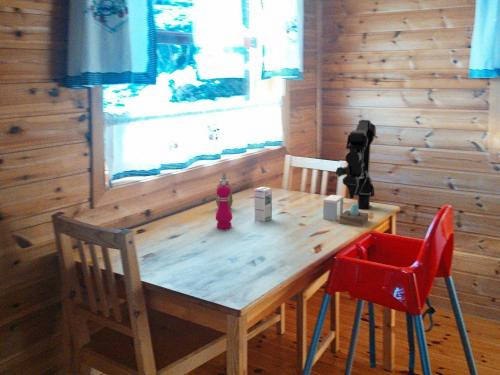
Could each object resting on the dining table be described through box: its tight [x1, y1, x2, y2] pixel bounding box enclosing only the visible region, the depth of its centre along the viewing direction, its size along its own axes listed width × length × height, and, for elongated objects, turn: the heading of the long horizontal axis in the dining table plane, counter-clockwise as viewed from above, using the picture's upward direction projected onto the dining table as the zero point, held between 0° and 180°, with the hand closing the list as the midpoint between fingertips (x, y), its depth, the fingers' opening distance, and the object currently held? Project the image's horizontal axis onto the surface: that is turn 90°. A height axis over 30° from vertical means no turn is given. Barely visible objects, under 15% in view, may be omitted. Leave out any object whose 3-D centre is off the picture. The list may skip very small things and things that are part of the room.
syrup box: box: [253, 186, 273, 222], centre depth 250 cm, size 6×6×14 cm
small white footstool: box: [322, 194, 344, 221], centre depth 255 cm, size 10×6×9 cm, turn 153°
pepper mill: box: [215, 182, 233, 230], centre depth 238 cm, size 7×7×20 cm
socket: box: [339, 210, 369, 227], centre depth 247 cm, size 10×10×4 cm
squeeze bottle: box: [215, 171, 234, 210], centre depth 267 cm, size 8×8×18 cm
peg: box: [349, 203, 359, 217], centre depth 246 cm, size 3×3×8 cm
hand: (354, 196), depth 244 cm, fingers open, 9 cm apart
